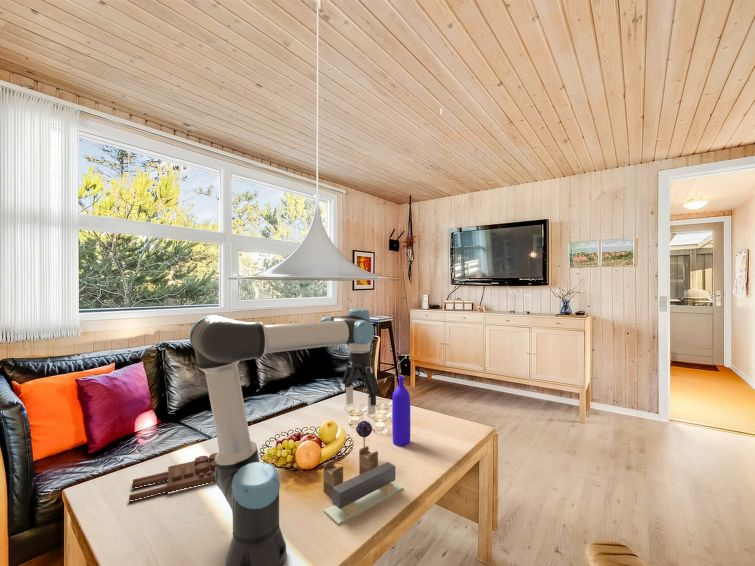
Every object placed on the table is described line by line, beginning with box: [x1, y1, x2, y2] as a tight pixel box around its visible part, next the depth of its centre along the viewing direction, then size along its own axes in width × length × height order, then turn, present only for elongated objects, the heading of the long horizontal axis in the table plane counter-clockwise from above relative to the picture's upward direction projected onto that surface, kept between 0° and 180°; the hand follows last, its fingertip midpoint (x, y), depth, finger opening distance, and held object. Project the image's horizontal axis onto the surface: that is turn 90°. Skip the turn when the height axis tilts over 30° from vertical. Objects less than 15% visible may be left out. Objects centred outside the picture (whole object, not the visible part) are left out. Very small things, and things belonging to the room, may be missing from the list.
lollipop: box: [355, 420, 373, 447], centre depth 148 cm, size 7×7×15 cm
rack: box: [323, 445, 379, 500], centre depth 128 cm, size 20×6×10 cm, turn 131°
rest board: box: [323, 481, 404, 526], centre depth 119 cm, size 28×8×3 cm, turn 131°
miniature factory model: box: [128, 452, 218, 502], centre depth 131 cm, size 16×5×30 cm
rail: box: [332, 461, 396, 509], centre depth 119 cm, size 24×4×5 cm, turn 131°
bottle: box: [391, 375, 411, 447], centre depth 161 cm, size 8×8×30 cm
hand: (360, 408), depth 130 cm, fingers open, 13 cm apart
